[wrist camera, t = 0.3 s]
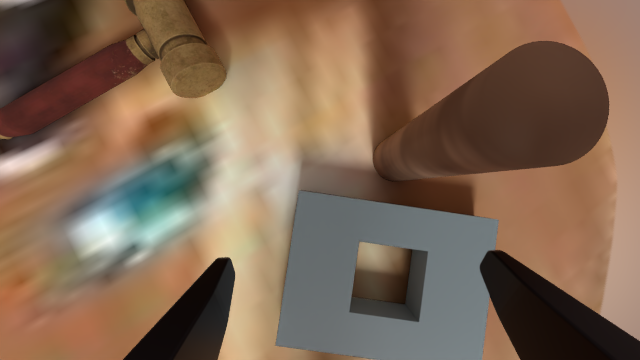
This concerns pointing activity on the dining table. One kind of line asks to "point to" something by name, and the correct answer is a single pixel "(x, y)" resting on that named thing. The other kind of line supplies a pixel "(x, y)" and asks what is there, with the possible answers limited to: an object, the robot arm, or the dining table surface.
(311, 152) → the dining table surface
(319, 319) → the socket board
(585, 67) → the peg
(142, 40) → the gavel
